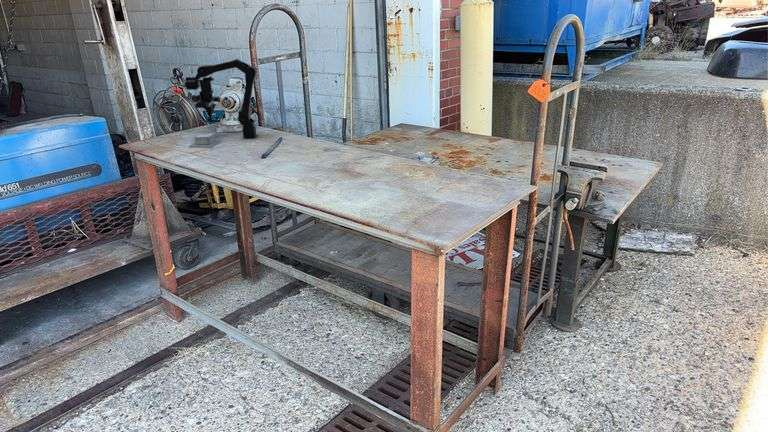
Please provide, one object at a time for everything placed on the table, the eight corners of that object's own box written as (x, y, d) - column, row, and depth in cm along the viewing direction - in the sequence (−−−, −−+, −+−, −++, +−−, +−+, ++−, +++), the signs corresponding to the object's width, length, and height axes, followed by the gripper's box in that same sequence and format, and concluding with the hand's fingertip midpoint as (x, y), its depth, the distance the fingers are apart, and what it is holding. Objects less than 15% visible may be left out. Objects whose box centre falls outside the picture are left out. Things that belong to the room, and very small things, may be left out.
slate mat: (220, 141, 303) (220, 141, 302) (211, 147, 292) (210, 147, 292) (199, 141, 305) (198, 140, 305) (188, 147, 294) (188, 146, 294)
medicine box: (203, 140, 305) (195, 144, 297) (202, 132, 303) (194, 136, 296) (216, 140, 303) (208, 145, 296) (215, 132, 302) (207, 136, 294)
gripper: (200, 86, 309) (204, 113, 315) (184, 92, 292) (188, 121, 298) (219, 86, 307) (222, 114, 313) (203, 92, 290) (207, 121, 296)
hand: (210, 117), depth 305 cm, fingers closed
